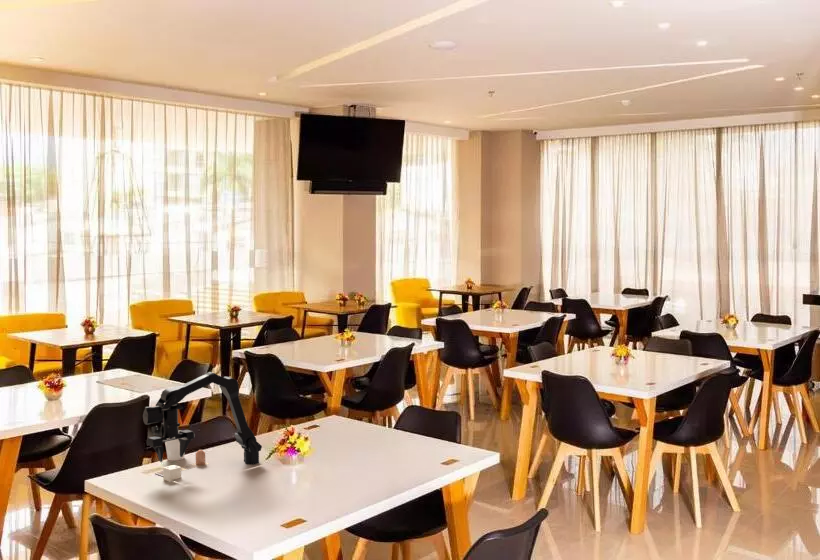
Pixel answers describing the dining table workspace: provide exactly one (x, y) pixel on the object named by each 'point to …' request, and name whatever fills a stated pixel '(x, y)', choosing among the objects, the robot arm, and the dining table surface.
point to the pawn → (200, 457)
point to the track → (184, 467)
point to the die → (171, 473)
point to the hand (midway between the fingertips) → (171, 459)
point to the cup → (173, 449)
